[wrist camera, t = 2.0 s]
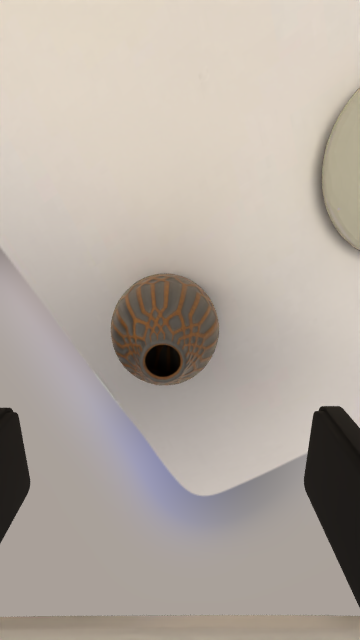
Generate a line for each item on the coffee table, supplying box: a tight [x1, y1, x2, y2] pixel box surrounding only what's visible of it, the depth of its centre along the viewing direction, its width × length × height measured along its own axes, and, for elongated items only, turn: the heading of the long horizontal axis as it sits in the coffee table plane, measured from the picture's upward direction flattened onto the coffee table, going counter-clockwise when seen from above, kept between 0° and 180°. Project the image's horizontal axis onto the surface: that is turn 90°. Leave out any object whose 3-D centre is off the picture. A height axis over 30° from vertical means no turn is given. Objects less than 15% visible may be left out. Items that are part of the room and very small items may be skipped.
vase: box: [111, 274, 219, 385], centre depth 20 cm, size 7×7×9 cm
